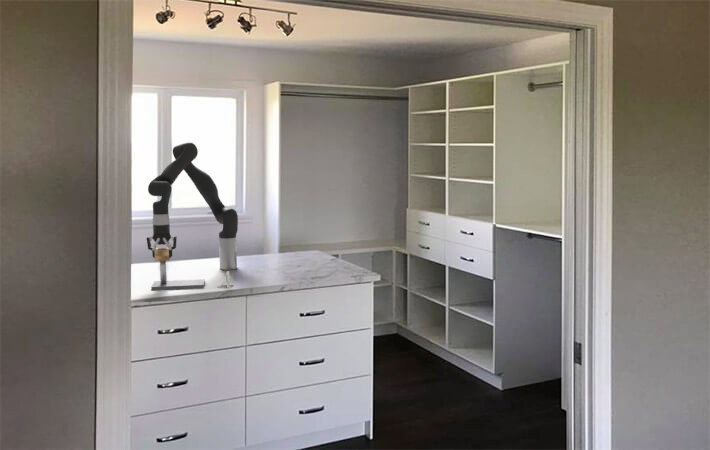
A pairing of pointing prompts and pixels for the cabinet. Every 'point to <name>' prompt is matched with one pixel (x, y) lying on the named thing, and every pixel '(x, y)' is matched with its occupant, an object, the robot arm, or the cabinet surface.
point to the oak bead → (161, 254)
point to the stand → (227, 282)
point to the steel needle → (163, 272)
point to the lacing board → (178, 284)
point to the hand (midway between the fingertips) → (162, 257)
